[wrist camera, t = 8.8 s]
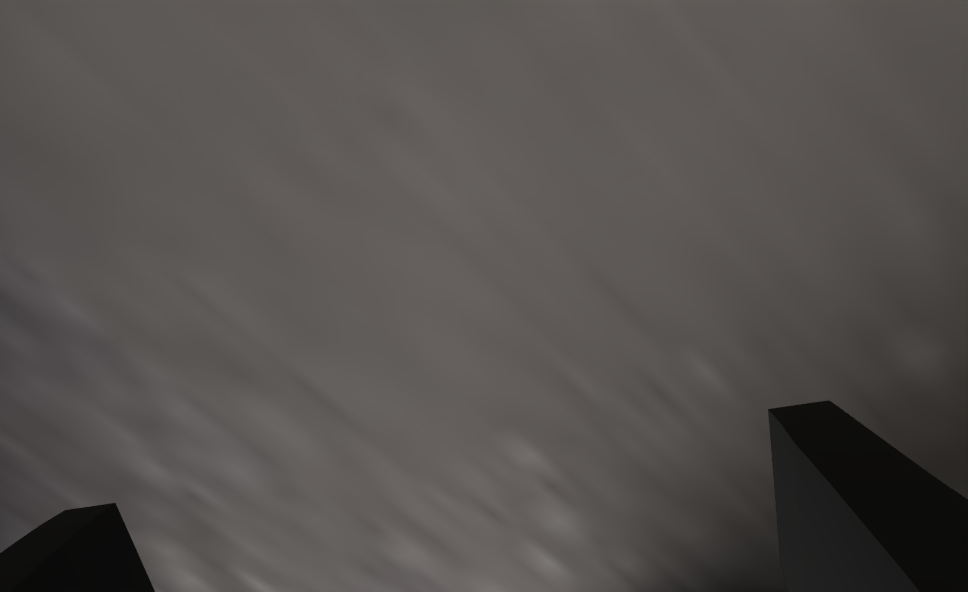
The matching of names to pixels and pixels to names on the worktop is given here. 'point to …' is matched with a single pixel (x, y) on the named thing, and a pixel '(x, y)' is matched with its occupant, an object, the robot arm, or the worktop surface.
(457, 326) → the worktop surface
